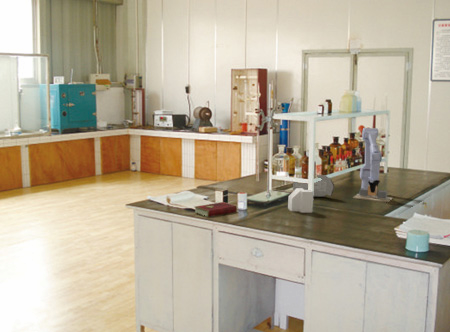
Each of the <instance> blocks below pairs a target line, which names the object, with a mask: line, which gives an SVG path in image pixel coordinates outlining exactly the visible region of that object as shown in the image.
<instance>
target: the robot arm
mask: <svg viewBox="0 0 450 332" xmlns="http://www.w3.org/2000/svg"><path fill="white" fill-rule="evenodd" d="M361 132H362V133H361V139H362V141H364V165H362V166H361V167H360V168H359V170H360V171H359V177H360V178H359V179H361V187H360V189H361V188H366V189H368V186H369V185H370V190H371V192H372V193H374V192H375V188H376V186H377V188H378V185H379V184H380V182H381V181H380V169H381V162H382V159H383V156H382V152H381V151H380V146H379V144H377V139H378V137H379V129H378V128H377V127H376V128H375V127H374V128H372V127H371V128H370V127H363V129H362V131H361Z"/></svg>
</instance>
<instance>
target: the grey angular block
mask: <svg viewBox="0 0 450 332" xmlns="http://www.w3.org/2000/svg"><path fill="white" fill-rule="evenodd" d="M313 204H314V196H313V191H311V190H304V189H303V188H296V189H295V190H293V191H292V192H291V193H290V194H289V195H288V200H287V209H288V210H289V211H290V212H300V213H303V214H304V213H313Z"/></svg>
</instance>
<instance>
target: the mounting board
mask: <svg viewBox="0 0 450 332" xmlns="http://www.w3.org/2000/svg"><path fill="white" fill-rule="evenodd" d="M387 197H388V198H390V199H389V200H386V199H378V198H370V197H362V196H356V195H354V196H353V197H352V198H353V199H356V200H365V201H371V202H380V203H386V202H387V203H386V204H388V203H389V202H390V200H391V201H392V200H393V199H394V197H390V196H387Z"/></svg>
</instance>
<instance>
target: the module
mask: <svg viewBox="0 0 450 332" xmlns="http://www.w3.org/2000/svg"><path fill="white" fill-rule="evenodd" d="M368 195H371V196H377V195H378V187H377V186H376V188H375V192H374V193H372V192H371V190H370V185H369V186H368Z"/></svg>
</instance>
